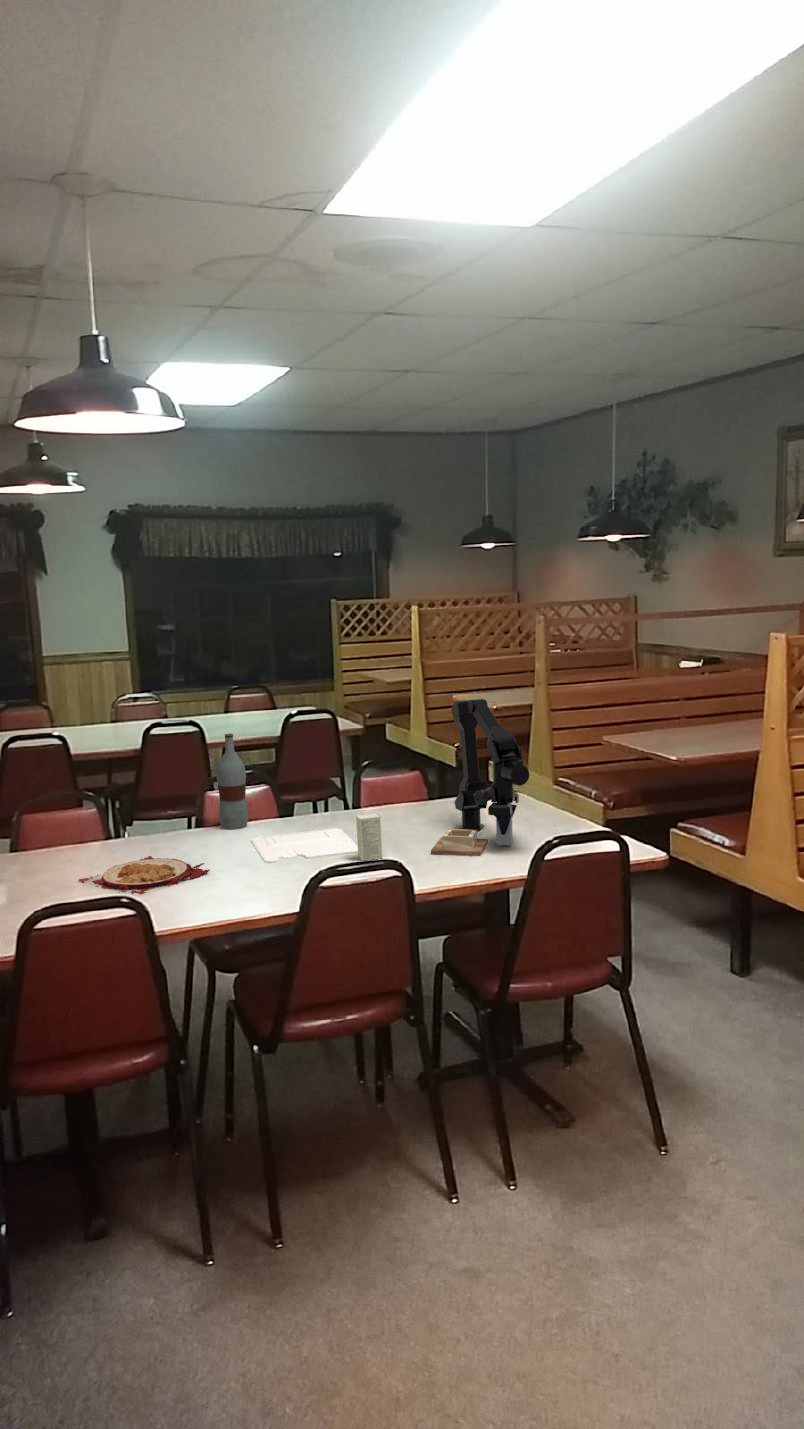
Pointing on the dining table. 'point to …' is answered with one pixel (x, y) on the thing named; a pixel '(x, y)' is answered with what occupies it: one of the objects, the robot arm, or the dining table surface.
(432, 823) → the dining table surface
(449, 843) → the socket block
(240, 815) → the bottle
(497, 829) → the peg
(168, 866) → the plate with food
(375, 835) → the skincare box
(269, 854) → the tray
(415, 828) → the dining table surface
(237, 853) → the dining table surface
